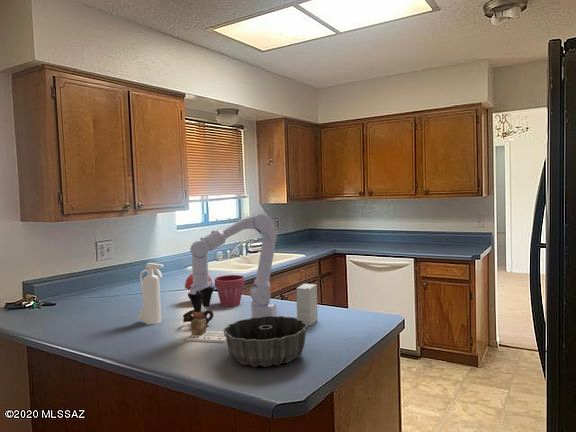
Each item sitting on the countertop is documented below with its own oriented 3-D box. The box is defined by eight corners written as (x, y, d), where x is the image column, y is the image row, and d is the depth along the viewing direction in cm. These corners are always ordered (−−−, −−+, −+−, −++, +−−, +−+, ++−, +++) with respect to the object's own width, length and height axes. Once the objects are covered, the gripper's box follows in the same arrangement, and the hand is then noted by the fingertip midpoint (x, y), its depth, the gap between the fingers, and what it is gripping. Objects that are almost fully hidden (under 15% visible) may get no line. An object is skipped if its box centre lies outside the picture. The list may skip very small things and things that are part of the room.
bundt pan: (207, 359, 141) (206, 328, 141) (269, 338, 160) (268, 311, 159) (263, 382, 122) (261, 346, 122) (326, 355, 141) (324, 324, 140)
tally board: (234, 333, 167) (234, 331, 167) (224, 342, 157) (224, 340, 157) (197, 332, 170) (197, 329, 170) (185, 340, 161) (185, 338, 161)
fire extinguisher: (143, 318, 192) (141, 261, 190) (168, 320, 189) (166, 262, 187) (133, 323, 186) (131, 263, 184) (159, 326, 182) (156, 265, 180)
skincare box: (304, 319, 183) (303, 283, 182) (318, 320, 180) (317, 283, 179) (296, 325, 175) (295, 287, 174) (311, 326, 172) (309, 288, 172)
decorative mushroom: (180, 305, 215) (178, 274, 215) (194, 298, 228) (193, 269, 227) (204, 306, 211) (203, 274, 210) (218, 299, 224) (216, 269, 223)
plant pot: (237, 308, 204) (236, 280, 204) (210, 307, 209) (208, 280, 208) (250, 301, 218) (249, 275, 217) (224, 300, 222) (223, 274, 222)
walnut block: (206, 331, 167) (205, 318, 167) (201, 335, 163) (200, 321, 163) (196, 331, 168) (195, 318, 168) (191, 334, 164) (190, 321, 164)
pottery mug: (189, 333, 171) (181, 313, 173) (187, 337, 179) (180, 318, 182) (218, 320, 176) (210, 301, 178) (215, 325, 184) (208, 307, 186)
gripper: (198, 269, 175) (200, 304, 176) (181, 276, 161) (183, 314, 162) (215, 269, 173) (217, 304, 174) (199, 276, 159) (201, 314, 160)
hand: (202, 309), depth 168 cm, fingers open, 7 cm apart
